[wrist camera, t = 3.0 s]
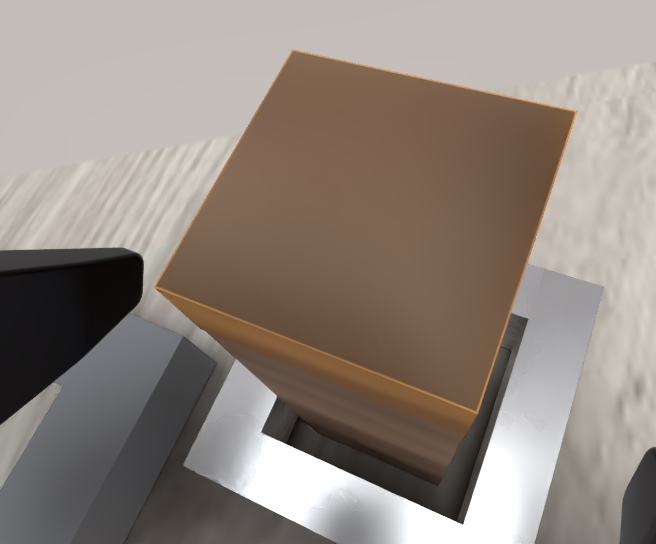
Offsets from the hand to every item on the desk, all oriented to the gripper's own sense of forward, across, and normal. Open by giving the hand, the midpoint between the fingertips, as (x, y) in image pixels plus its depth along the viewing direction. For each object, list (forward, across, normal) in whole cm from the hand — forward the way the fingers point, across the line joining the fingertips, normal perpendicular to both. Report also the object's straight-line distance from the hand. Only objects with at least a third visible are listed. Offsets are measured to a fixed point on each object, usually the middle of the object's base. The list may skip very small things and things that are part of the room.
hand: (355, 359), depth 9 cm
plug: (+7, 0, +5) cm, 9 cm away
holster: (+7, 0, +5) cm, 9 cm away
